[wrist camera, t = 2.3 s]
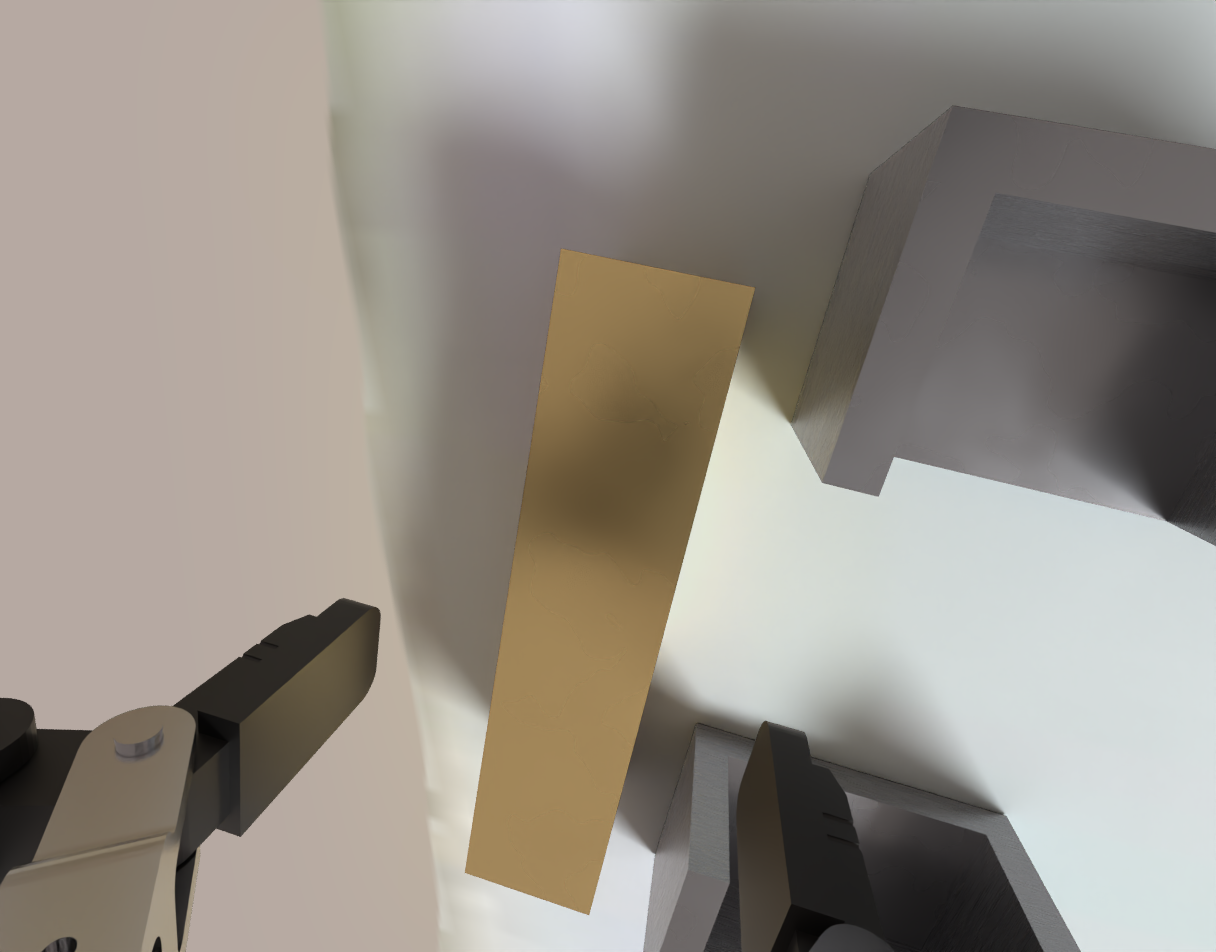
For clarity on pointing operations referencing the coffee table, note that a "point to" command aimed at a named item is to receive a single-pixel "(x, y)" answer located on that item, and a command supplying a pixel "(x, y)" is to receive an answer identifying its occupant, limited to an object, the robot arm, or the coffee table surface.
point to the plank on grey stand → (985, 451)
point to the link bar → (597, 559)
